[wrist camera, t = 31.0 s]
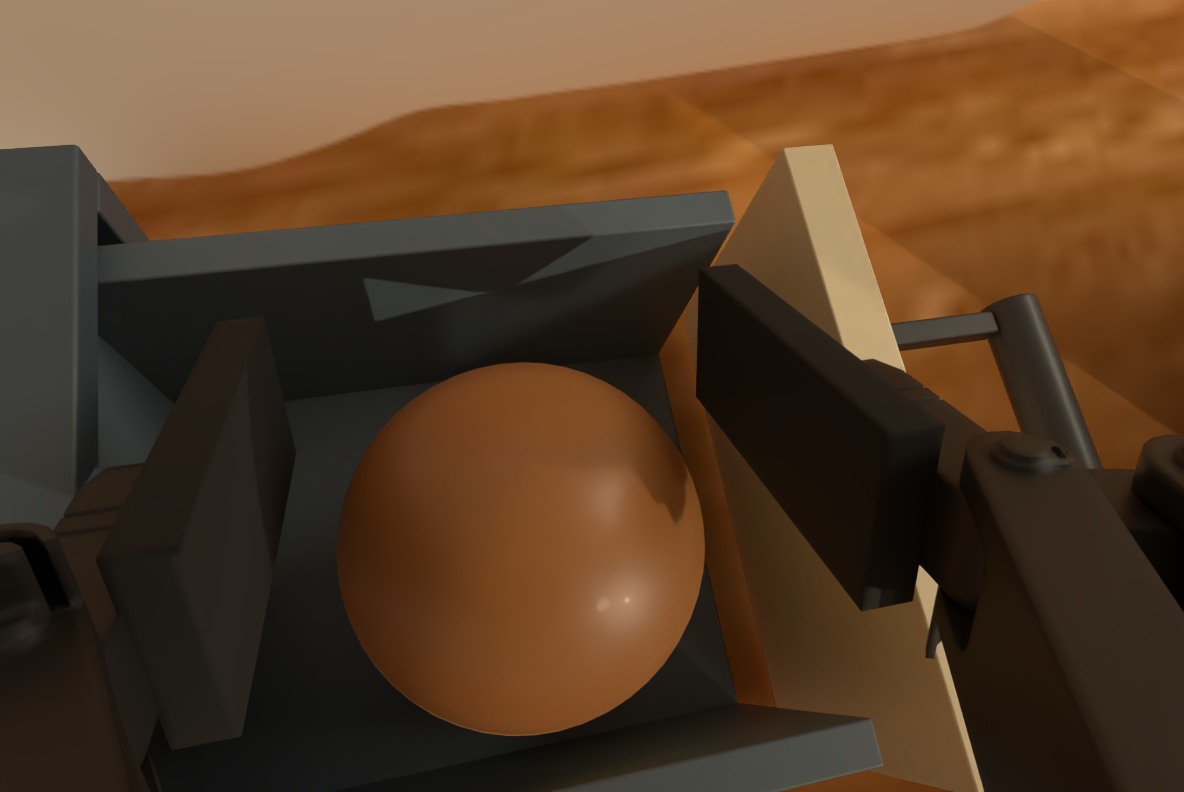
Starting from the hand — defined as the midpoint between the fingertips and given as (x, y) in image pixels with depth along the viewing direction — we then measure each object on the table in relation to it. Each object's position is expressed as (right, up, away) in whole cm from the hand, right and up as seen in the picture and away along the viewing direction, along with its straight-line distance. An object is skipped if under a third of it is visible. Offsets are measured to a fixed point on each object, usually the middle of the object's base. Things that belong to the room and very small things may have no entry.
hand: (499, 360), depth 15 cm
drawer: (+2, -5, +8) cm, 10 cm away
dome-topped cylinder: (-1, -6, +6) cm, 8 cm away
